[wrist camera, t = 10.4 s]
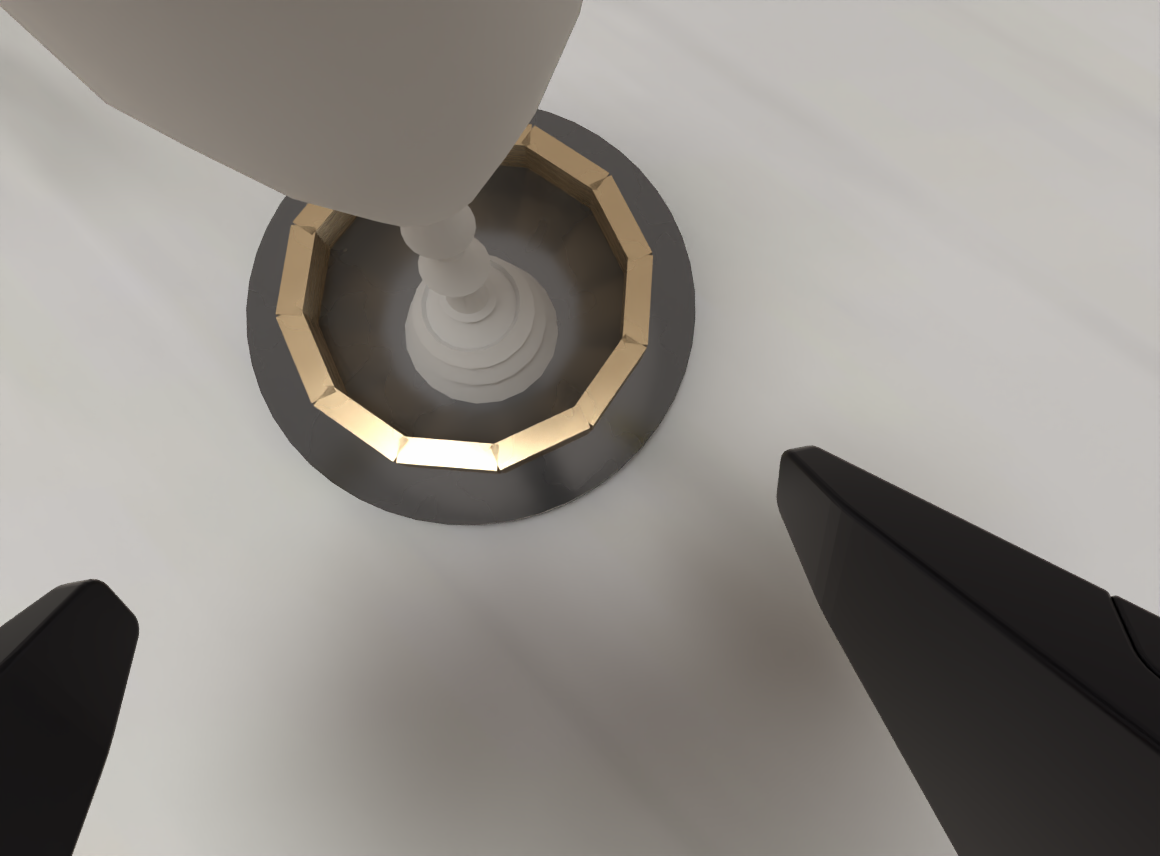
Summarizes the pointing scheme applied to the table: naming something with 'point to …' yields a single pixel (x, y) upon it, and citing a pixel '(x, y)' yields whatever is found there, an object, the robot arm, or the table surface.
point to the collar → (495, 429)
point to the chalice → (353, 132)
